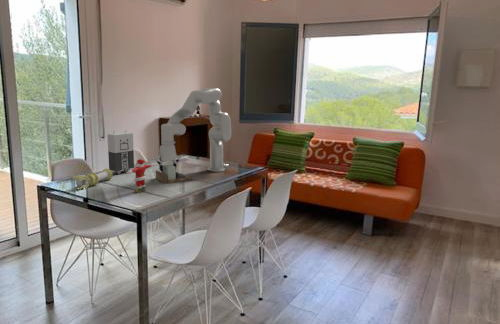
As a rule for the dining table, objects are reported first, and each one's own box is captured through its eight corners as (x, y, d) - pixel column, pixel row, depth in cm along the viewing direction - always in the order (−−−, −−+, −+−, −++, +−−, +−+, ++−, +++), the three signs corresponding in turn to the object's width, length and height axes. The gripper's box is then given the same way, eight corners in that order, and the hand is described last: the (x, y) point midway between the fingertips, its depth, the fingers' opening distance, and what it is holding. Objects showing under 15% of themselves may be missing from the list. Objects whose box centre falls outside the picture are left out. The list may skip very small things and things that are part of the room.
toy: (116, 175, 250) (114, 130, 244) (109, 173, 254) (107, 129, 248) (134, 171, 262) (132, 129, 256) (127, 170, 266) (125, 128, 260)
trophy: (103, 167, 238) (69, 176, 210) (113, 168, 236) (80, 178, 208) (103, 179, 240) (70, 191, 211) (113, 180, 238) (81, 192, 209)
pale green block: (168, 175, 247) (168, 163, 246) (175, 179, 237) (175, 166, 236) (161, 176, 244) (161, 164, 243) (168, 179, 235) (167, 167, 233)
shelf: (181, 175, 254) (181, 168, 253) (191, 180, 241) (191, 172, 240) (155, 178, 245) (155, 170, 244) (164, 183, 231) (164, 175, 231)
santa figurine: (149, 185, 225) (148, 155, 222) (157, 186, 223) (157, 156, 220) (122, 196, 202) (120, 162, 199) (131, 197, 200) (129, 163, 197)
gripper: (178, 142, 244) (178, 168, 248) (152, 143, 235) (152, 170, 238) (182, 143, 238) (183, 170, 241) (156, 145, 229) (156, 172, 232)
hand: (168, 170), depth 240 cm, fingers open, 8 cm apart
